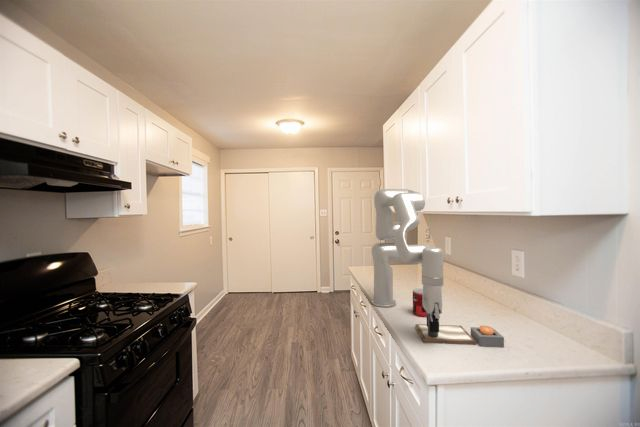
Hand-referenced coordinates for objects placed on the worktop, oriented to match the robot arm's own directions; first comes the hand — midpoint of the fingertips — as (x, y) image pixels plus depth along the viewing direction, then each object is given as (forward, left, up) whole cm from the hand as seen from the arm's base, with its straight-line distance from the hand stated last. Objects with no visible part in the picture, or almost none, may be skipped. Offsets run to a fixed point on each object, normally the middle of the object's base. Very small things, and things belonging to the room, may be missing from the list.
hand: (432, 328), depth 107 cm
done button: (0, +19, -2) cm, 19 cm away
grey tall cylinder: (0, 0, -2) cm, 2 cm away
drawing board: (-4, +5, -4) cm, 7 cm away
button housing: (0, +19, -4) cm, 19 cm away
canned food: (-26, +2, -4) cm, 26 cm away
